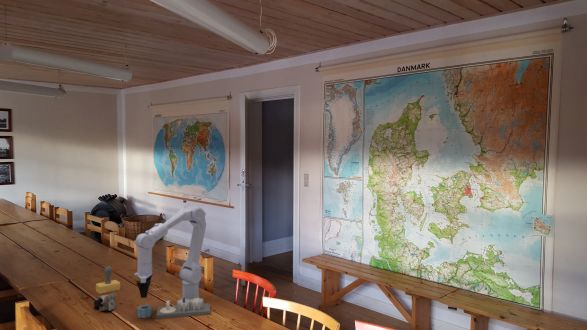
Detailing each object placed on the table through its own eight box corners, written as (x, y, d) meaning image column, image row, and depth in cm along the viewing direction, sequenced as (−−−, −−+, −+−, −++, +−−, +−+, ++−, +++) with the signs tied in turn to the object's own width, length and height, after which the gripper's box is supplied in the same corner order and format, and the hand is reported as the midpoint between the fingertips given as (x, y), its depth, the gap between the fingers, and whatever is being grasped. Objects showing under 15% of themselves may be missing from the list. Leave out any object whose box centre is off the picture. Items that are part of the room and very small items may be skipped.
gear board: (157, 310, 185) (157, 295, 185) (209, 306, 191) (209, 291, 191) (156, 318, 177) (156, 302, 176) (210, 314, 182) (210, 298, 182)
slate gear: (138, 313, 182) (138, 305, 182) (152, 312, 183) (152, 304, 183) (136, 318, 176) (136, 310, 176) (151, 317, 178) (151, 309, 177)
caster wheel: (99, 309, 192) (121, 306, 192) (87, 313, 181) (110, 310, 181) (99, 294, 193) (120, 291, 193) (86, 297, 182) (109, 294, 182)
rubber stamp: (99, 294, 204) (99, 269, 203) (95, 291, 208) (95, 266, 208) (120, 289, 211) (120, 265, 210) (116, 286, 215) (116, 263, 214)
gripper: (136, 258, 185) (136, 289, 185) (132, 267, 171) (132, 301, 171) (153, 257, 186) (153, 288, 187) (151, 266, 172) (151, 300, 173)
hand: (144, 294), depth 179 cm, fingers open, 7 cm apart
